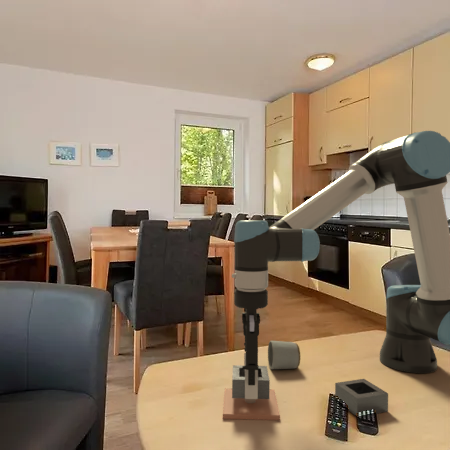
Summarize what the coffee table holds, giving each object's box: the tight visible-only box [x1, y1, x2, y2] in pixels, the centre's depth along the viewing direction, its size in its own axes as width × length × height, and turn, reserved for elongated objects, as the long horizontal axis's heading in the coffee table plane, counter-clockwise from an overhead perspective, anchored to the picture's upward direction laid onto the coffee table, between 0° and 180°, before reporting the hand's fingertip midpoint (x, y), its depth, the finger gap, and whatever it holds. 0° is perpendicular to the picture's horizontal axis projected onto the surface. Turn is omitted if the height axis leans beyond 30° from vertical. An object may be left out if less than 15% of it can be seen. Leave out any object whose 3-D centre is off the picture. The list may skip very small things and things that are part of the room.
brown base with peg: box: [222, 387, 281, 421], centre depth 84 cm, size 12×12×9 cm
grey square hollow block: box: [334, 378, 389, 416], centre depth 85 cm, size 8×8×4 cm
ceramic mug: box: [267, 340, 301, 370], centre depth 108 cm, size 11×8×8 cm
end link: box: [231, 364, 271, 399], centre depth 84 cm, size 8×8×4 cm
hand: (250, 388), depth 84 cm, fingers closed on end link, 8 cm apart
